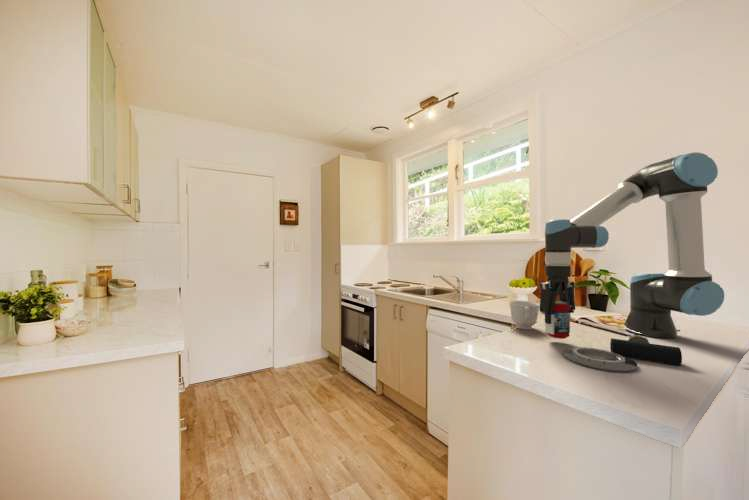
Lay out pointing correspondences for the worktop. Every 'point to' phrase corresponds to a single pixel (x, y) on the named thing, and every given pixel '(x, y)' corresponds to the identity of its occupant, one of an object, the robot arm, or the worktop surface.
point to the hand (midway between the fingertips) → (557, 332)
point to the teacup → (524, 313)
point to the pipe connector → (646, 350)
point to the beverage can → (561, 320)
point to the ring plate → (600, 359)
